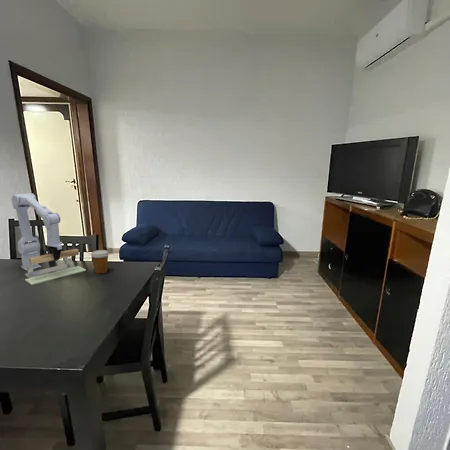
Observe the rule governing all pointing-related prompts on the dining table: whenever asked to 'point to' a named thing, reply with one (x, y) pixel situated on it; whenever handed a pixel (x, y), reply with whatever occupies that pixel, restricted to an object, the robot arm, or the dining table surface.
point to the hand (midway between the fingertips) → (55, 259)
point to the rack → (48, 269)
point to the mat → (54, 275)
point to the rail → (50, 256)
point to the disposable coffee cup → (100, 261)
